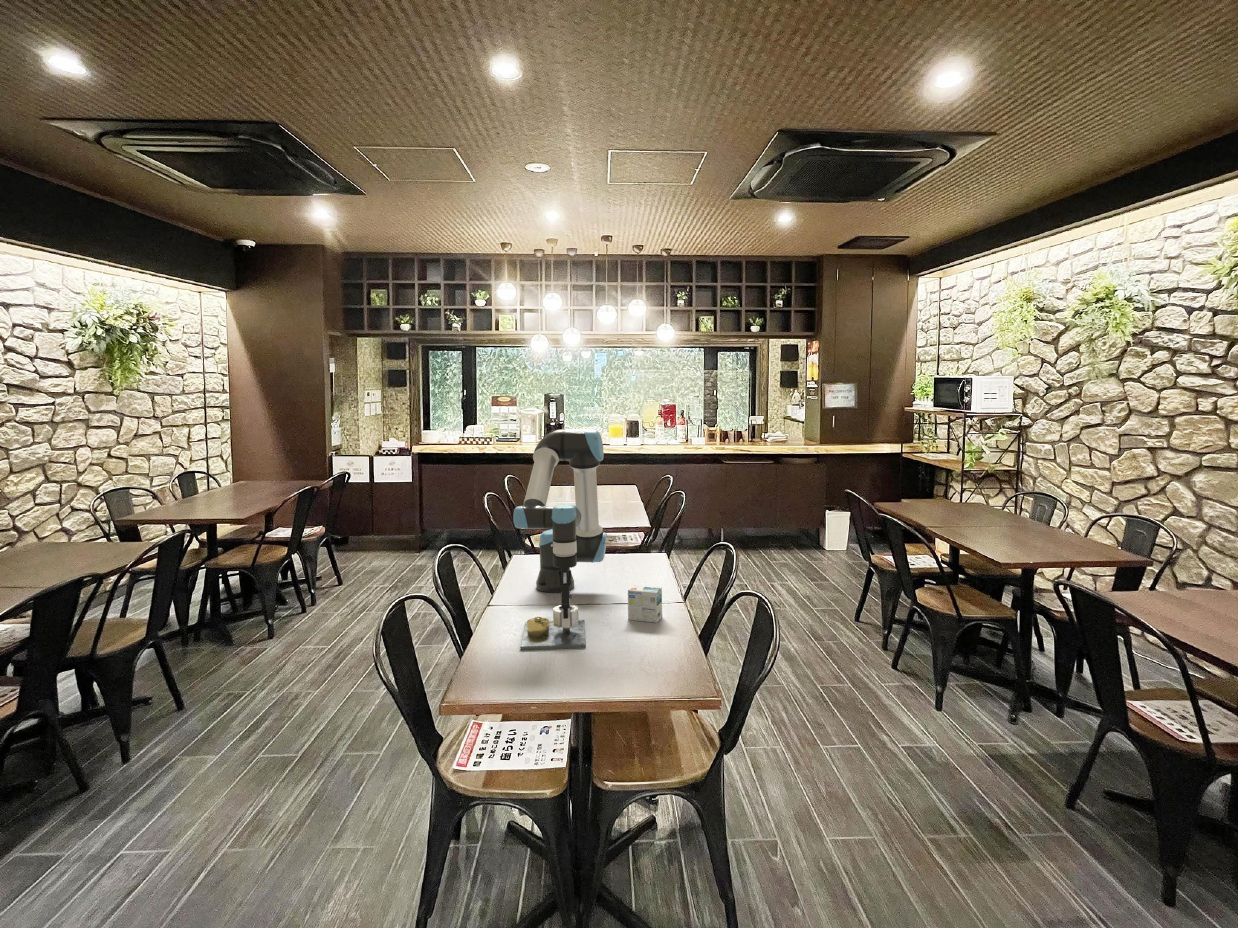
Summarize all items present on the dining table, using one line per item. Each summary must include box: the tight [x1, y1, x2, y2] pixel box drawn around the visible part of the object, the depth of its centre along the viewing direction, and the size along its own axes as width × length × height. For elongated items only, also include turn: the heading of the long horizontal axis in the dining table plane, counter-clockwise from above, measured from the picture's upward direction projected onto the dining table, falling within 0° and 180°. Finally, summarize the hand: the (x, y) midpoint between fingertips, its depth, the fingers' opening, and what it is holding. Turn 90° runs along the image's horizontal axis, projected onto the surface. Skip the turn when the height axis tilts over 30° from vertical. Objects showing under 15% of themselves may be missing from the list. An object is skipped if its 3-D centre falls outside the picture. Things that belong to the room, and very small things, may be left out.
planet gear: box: [552, 604, 579, 628], centre depth 226 cm, size 8×8×5 cm
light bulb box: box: [627, 584, 663, 624], centre depth 242 cm, size 11×7×11 cm, turn 71°
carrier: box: [519, 616, 587, 651], centre depth 226 cm, size 22×20×6 cm
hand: (566, 622), depth 226 cm, fingers closed on planet gear, 8 cm apart
